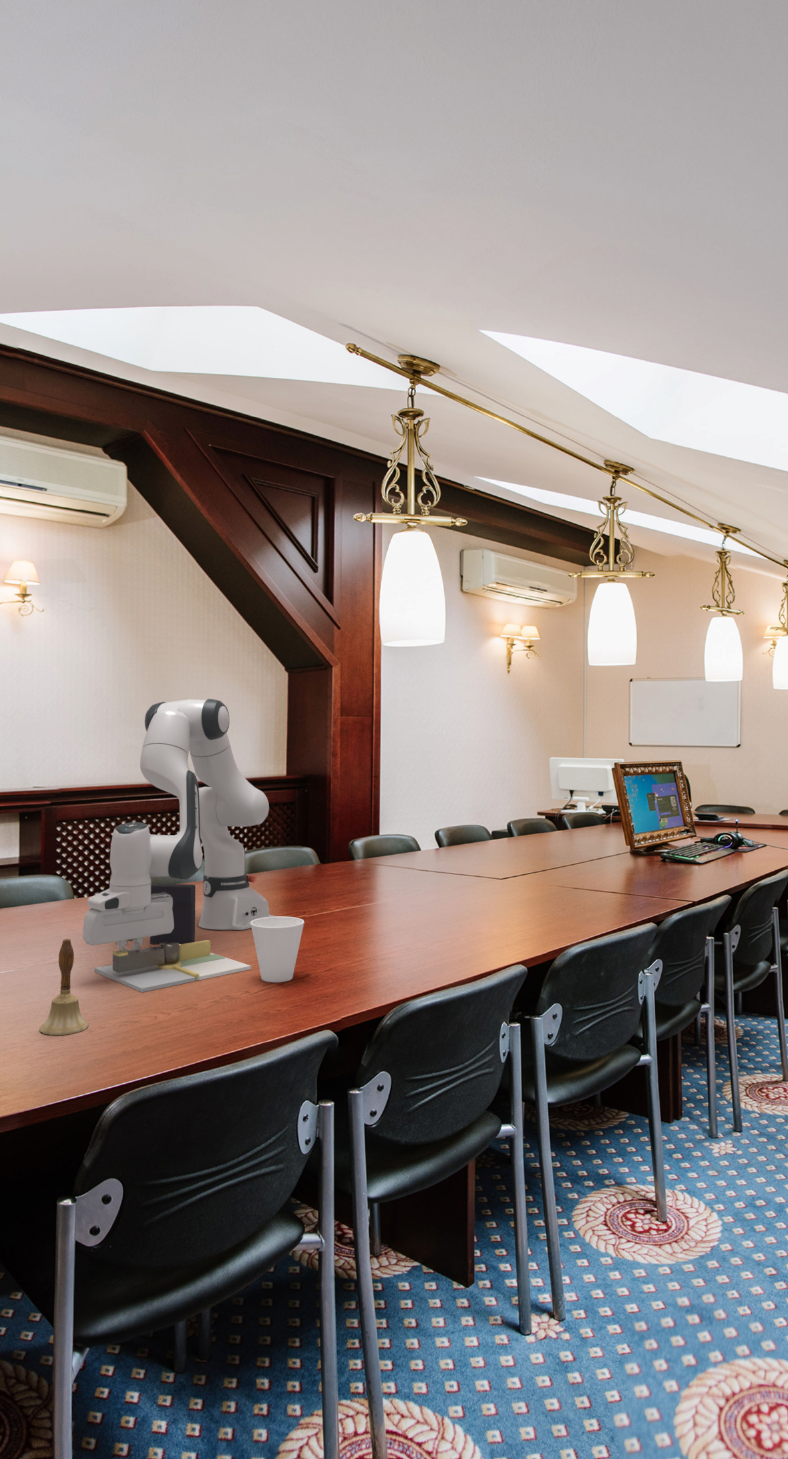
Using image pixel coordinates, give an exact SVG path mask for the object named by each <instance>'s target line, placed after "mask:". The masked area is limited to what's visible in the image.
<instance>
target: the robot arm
mask: <svg viewBox="0 0 788 1459" xmlns="http://www.w3.org/2000/svg"><path fill="white" fill-rule="evenodd" d="M229 712H230V711H229V710H228V707H227V705H225V704H224V702H222V700H218V699H212V698H208V699H197V698H196V699H195V698H191V699H190V698H189V699H188V698H187V699H183V700H180V699H179V700H173V701H167V702H165V701H161V702H157V703H155V704H152V705H151V706H150V707H149V708H148V709H147V711H146V713H145V716H144V727H145V728H144V729H145V730H146V733H145V737H144V740H143V743H142V749H141V754H140V760H139V761H140V762H139V768H140V771H141V774H142V775H143V777H144V779H145V780H147V782H149V783H150V784H151V785H152V786H154V787H155V788H157V789H160V790H162V791H165V792H166V793H169V794H171V795H173V796H176V797H177V799H178V800H179V801H178V802H179V831H178V832H177V834H175V835H171V834H170V835H169V834H168V835H167V834H166V835H165V834H151V833H150V828H149V825H148V824H146V823H143V822H137V821H136V822H135V821H134V822H133V821H132V822H127V823H126V822H125V823H122V824H119V825H116V826H115V828H114V829H113V833H112V837H111V843H110V852H109V853H110V854H109V866H110V871H111V875H112V876H111V875H110V876H111V880H110V881H109V888H107V889H105V890H103V891H100V892H99V893H97V894H93V896H90V897H88V898H87V900H86V901H87V907H89V909H88V910H87V911H86V913H85V915H84V918H83V919H84V920H83V928H82V939H83V941H84V942H85V943H86V944H87V945H89V946H98V945H104V944H110V943H111V944H112V943H116V945H117V947H118V949H119V950H123V951H126V952H128V951H134V950H139V949H141V946H142V945H143V941H144V938H148V937H149V938H150V936H155V935H162V934H168V933H171V932H172V930H173V929H174V919H173V911H172V907H173V899H172V897H171V895H169V894H167V893H159V894H151V886H152V879H151V877H152V878H153V877H156V878H159V877H160V878H172V879H181V880H188V879H190V878H191V877H193V876H195V874H196V873H198V872H199V871H200V870H201V868H202V864H203V852H204V875H203V878H202V892H203V902H202V909H201V914H200V918H199V922H198V927H199V928H202V929H207V930H222V931H223V930H224V931H225V930H235V931H237V930H238V931H243V930H248V929H252V927H251V925H250V922H251V921H252V920H255V919H259V918H264V917H276V916H275V915H273V914H270V909H269V908H270V907H269V903H268V900H267V899H266V898H265V897H264V896H263V895H261V894H260V893H259V892H258V891H256V890H254V888H252V887H251V886H250V883H252V884H254V883H256V882H257V876H256V875H251V874H250V875H247V874H246V873H245V853H246V852H245V848H244V846H243V844H242V842H240V841H238V840H237V839H235V838H234V837H233V836H232V835H231V834H230V832H229V828H228V827H245V828H246V827H252V826H256V825H261V824H263V823H264V821H265V820H266V819H267V817H268V815H269V811H270V806H269V805H270V804H269V800H268V797H267V796H266V794H265V793H264V792H263V791H262V790H261V789H258V788H256V787H255V786H254V785H253V784H252V783H251V782H249V781H248V780H247V778H246V777H245V776H244V775H243V774H242V772H241V771H240V769H239V768H238V766H237V764H236V763H237V762H236V760H235V757H234V754H233V751H232V747H231V744H230V740H229V736H228V733H227V732H229V731H228V730H229V727H230V713H229ZM189 754H190V755H189ZM189 756H190V759H191V761H192V766H193V769H194V771H192V770H190V768H189V761H188V760H189V759H188V758H189ZM197 778H198V779H197ZM198 780H199V781H201V782H202V783H204V784H205V785H207V786H203V787H199V782H198ZM202 846H203V850H202ZM167 896H169V897H167ZM131 939H133V940H131ZM128 941H132V942H133V945H132V948H131V949H129V950H128V949H127V947H126V946H127V945H128Z"/></svg>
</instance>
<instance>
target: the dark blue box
mask: <svg viewBox="0 0 788 1459" xmlns="http://www.w3.org/2000/svg"><path fill="white" fill-rule="evenodd" d="M159 893H167V894H169V895H171V897H172V899H173V907H172V911H173V919H174V929H173V930H172V932H171V933H168V934H162V935H155V936H149V943H150V944H151V945H159V944H160V943H162V942H167V941H175V942H179V944H187V943H192V942H196V884H188V883H187V884H184V883H183V884H182V883H179V884H177V883H154V884H151V894H159ZM167 897H169V896H167Z"/></svg>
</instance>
